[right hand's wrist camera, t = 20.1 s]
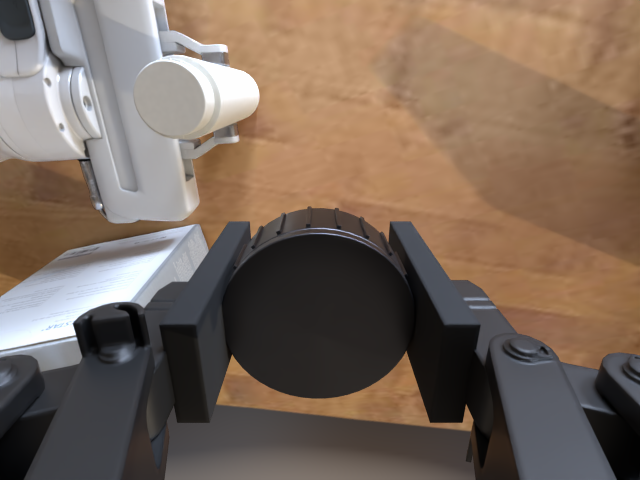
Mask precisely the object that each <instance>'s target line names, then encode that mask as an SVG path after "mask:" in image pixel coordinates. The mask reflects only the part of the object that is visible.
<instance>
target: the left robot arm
mask: <svg viewBox="0 0 640 480" xmlns="http://www.w3.org/2000/svg"><path fill="white" fill-rule="evenodd" d="M184 46H185V47H187V48H189V49H191V50H193V51H194V52H196V53H198V54H200V55H201V56H202V61H206V62H209V63H213V64H217V65H221V66H225V67H227V66H229V57H228V49H227V46H226V45H219V44H217V45H202V44H201V43H199V42H197V41H195V40H193V39H191V38H189V37H187V36H186V35H184V34H181V33H179V32H177V31H174V30H173V31H169V26H168V21H167V15H166V10H165V4H164V0H0V162H3V161H6V160H8V159H12V158H15V159H20V160H25V161H32V162H43V161H61V160H75V159H77V160H79V162H80V166H81V169H82V173H83V176H84V179H85V181H86V184H87V186H88V189H89V192H90V201H91V203H92V206H93V207H94V209H96V210H99V212H100V213H101V215H102V216H103V217H104V218H105V219H107V220H108V221H109V222H112V223H134V222H137V221H139V220H151V221H180V220H183V219H185V218H187V217H188V216H189V215H190V214H192V212H193V211H194V210H195V209H196V208H197V206H198V205H199V195H198V189H197V184H196V178H195V172H194V167H193V161H192V159H197V158H198V157H200V156H202V155H204V154H205V153H206V152H208V151H209V150H211V149H212V148H213V147H215V146H216V145H218V144H225V143H236V142H238V141H239V133H238V127H237V123H233V124H230V125H228V126H226V127H223V128H221V129H218V130H216V131H214V132H213V133H214V136H213V137H211V138H210V139H209V140H207V141H206V142H204V143H203V144H202V145H201V140H200V139H190V140H184V139H172V138H166V137H164V136H161V135H159V134H157V133H155V132H154V131H153V130H151V129H150V128H149V127H147V125H146V124H145V123H144V121H143V120H142V119H141V118H140V115H139V113H138V111H137V109H136V106H135V103H134V98H133V89H134V83H135V80H136V78H137V76H138V74H139V73H140V71H141V70H142V69H143V68H144V67H145V66H147V65H148V64H149V63H151V62H154V61H156V60H158V59H161V58H163V57H166V56H171V55H173V54H182V53H185V52H186V51H185V47H184ZM104 208H105V211H104Z"/></svg>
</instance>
